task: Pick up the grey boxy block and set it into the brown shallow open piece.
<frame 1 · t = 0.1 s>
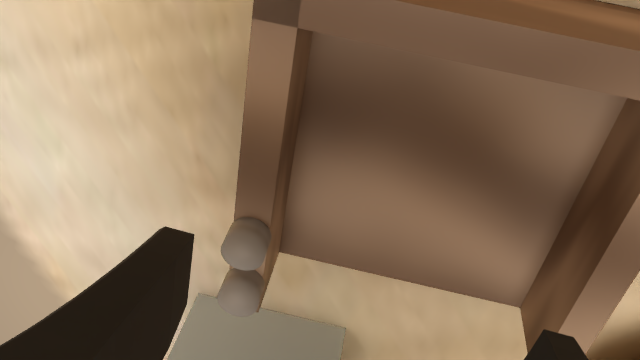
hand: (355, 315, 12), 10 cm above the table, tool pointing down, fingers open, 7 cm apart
grey boxy block: (268, 334, 28), on the table
brown shallow open piece: (438, 148, 21), on the table
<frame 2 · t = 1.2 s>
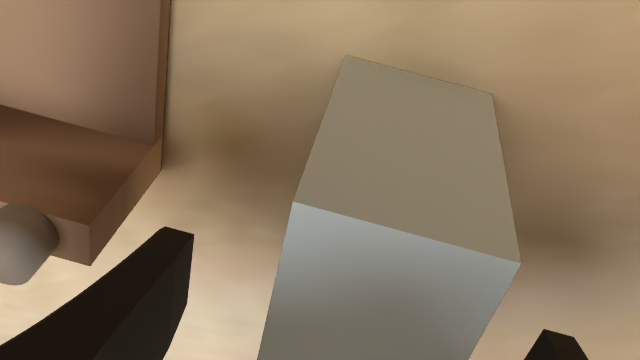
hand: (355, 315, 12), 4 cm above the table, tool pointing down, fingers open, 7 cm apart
grey boxy block: (379, 191, 16), on the table
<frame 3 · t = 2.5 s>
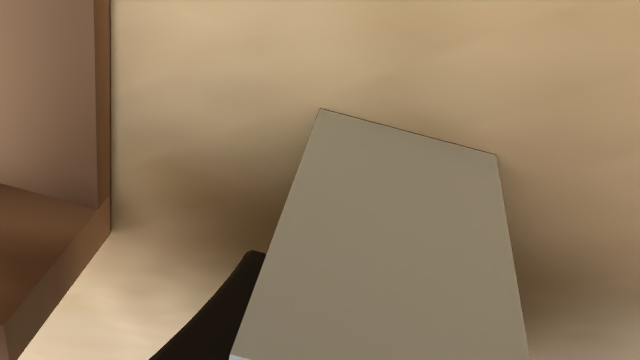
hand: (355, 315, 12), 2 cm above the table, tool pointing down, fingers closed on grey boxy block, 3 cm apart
grey boxy block: (363, 262, 13), on the table, touching gripper
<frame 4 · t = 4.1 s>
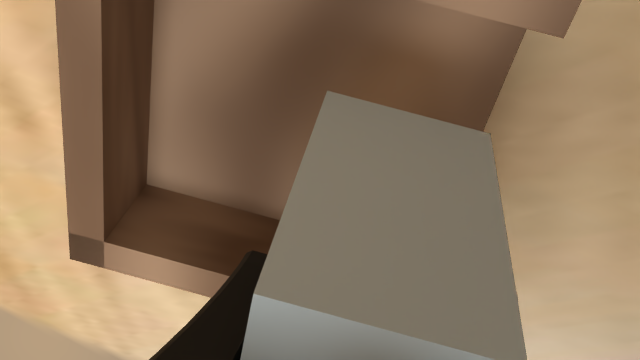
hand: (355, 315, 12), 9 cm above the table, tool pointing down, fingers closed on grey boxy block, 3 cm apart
grey boxy block: (366, 237, 14), point 6 cm above the table, touching gripper
brown shallow open piece: (298, 91, 19), on the table
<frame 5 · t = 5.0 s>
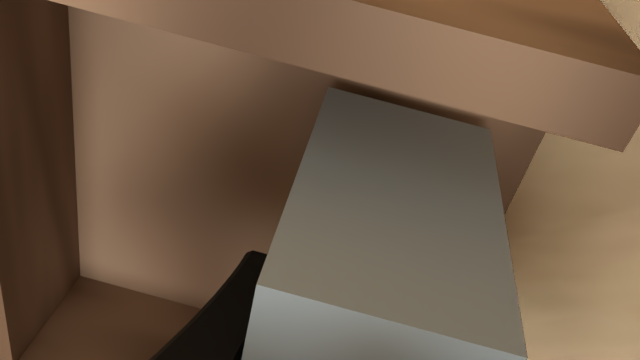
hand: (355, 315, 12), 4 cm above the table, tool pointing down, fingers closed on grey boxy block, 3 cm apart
grey boxy block: (367, 232, 14), point 1 cm above the table, touching gripper
brown shallow open piece: (262, 173, 15), on the table
when the fingers open (4 cm above the table, at t = 5.8 s): grey boxy block stays where it is, resting on brown shallow open piece.
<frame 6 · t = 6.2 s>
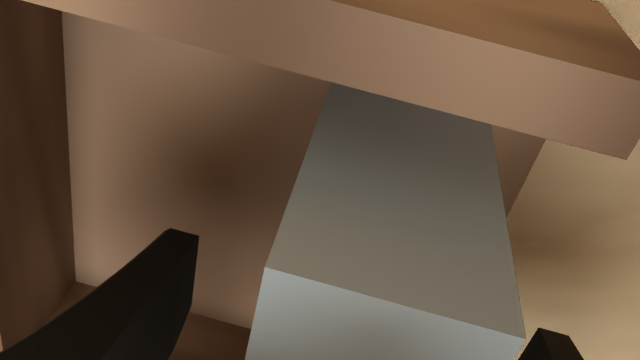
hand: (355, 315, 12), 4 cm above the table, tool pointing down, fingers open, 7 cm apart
grey boxy block: (369, 224, 14), point 1 cm above the table, touching brown shallow open piece
brown shallow open piece: (259, 178, 15), on the table
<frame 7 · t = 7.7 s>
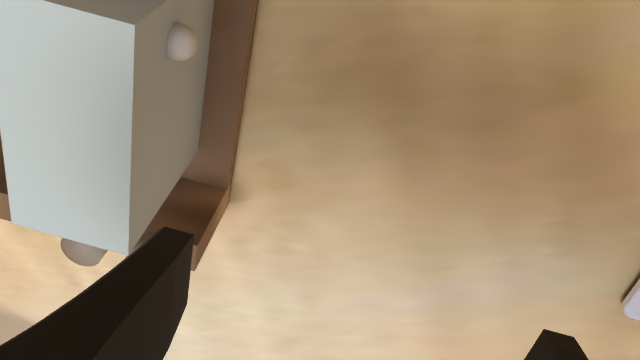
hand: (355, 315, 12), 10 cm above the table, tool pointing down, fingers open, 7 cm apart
grey boxy block: (157, 51, 20), point 1 cm above the table, touching brown shallow open piece
brown shallow open piece: (81, 21, 20), on the table
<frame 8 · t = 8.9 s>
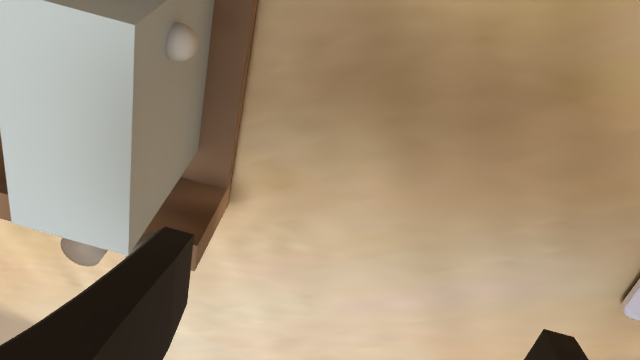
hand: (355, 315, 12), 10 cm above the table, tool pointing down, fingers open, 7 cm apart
grey boxy block: (157, 51, 20), point 1 cm above the table, touching brown shallow open piece
brown shallow open piece: (81, 21, 20), on the table
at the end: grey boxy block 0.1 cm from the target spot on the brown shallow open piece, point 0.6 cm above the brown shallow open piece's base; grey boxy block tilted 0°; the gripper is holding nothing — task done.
